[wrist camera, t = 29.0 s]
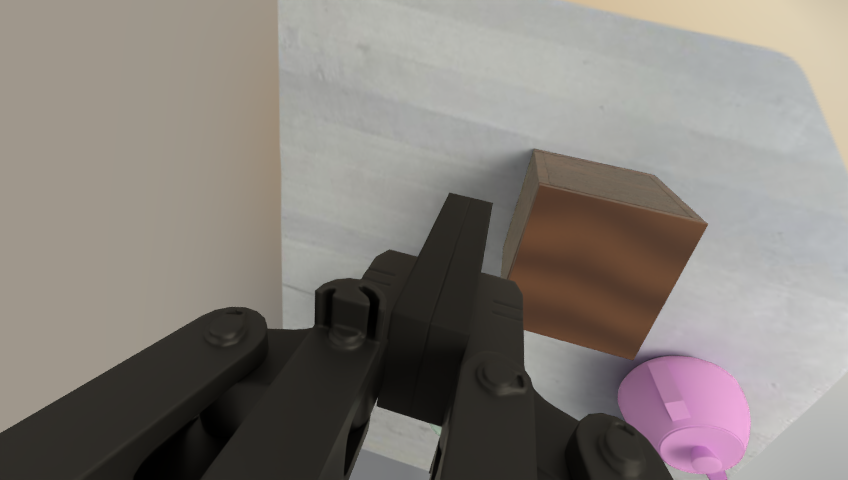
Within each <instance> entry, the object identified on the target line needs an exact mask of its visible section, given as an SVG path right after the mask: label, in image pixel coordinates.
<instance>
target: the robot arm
mask: <svg viewBox="0 0 848 480" xmlns="http://www.w3.org/2000/svg"><path fill="white" fill-rule="evenodd" d="M492 205H493V203H490V202H486V201H482V200H478V199H474V198H470V197H465V196H461V195H457V194H453V193H449V195H448V197H447V199H446V201H445V203H444V205H443V207H442V209H441V211H440V213H439V215H438V217H437V219H436V221H435V223H434V225H433V227H432V229H431V231H430V233H429V236H428V238H427V240H426V242H425V244H424V246H423V248H422V250H421V252H420V254H419V256H418V257H416V256H412V255H408V254H405V253H401V252H397V251H393V250H388V251H386V252H384V253H382V254H380V255H378V256H377V257H376V258H375V259H374V261H373V262H372V263H371V265H370V266H369V269H367V271H366V272H365V274H364V275H363V277H362V279H360V280H359V279H352V278H346V279H336V280H333V281H330V282H327V283H325V284H323V285H322V286H321V287H319V288H318V289H317V290H315V325H314V326H313V328H308V329H298V330H289V329H267V324H266V321H265V318H264V317H263V316H262V315H261V314H259V313H258V312H257V311H254V310H251V309H249V308H245V307H228V308H224V309H218V310H214V311H212V312H210V313H207V314H205V315H203V316H201V317H199V318H197V319H196V320H194V321H192V322H191V323H189V324H187V325H185V326H184V327H182V328H180V329H178V330H177V331H175V332H173V333H172V334H170V335H168V336H167V337H165V338H163V339H161V340H160V341H158V342H156V343H154V344H153V345H151V346H149V347H147V348H146V349H144V350H142V351H141V352H139V353H137V354H136V355H134V356H132V357H130V358H129V359H127V360H125V361H123V362H122V363H120V364H118V365H117V366H115V367H113V368H112V369H110V370H108V371H106V372H105V373H103V374H101V375H99V376H98V377H96V378H94V379H93V380H91V381H89V382H87V383H86V384H84V385H82V386H80V387H79V388H77V389H76V390H74V391H72V392H70V393H69V394H67V395H65V396H63V397H62V398H60V399H58V400H56V401H55V402H53V403H51V404H50V405H48V406H46V407H45V408H43V409H41V410H39V411H38V412H36V413H34V414H32V415H31V416H29V417H27V418H26V419H24V420H22V421H20V422H19V423H17V424H15V425H14V426H12V427H10V428H8V429H7V430H5V431H3V432H1V433H0V480H349V477H350V475H351V472H352V470H353V467H354V465H355V462H356V460H357V457H358V455H359V452H360V450H361V447H362V444H363V442H364V439H365V437H366V434H367V432H368V428H369V422H370V416H371V412H372V410H373V407H374V405H375V402H376V400H377V397H378V400H377V406H378V407H381V408H384V409H387V410H390V411H393V412H396V413H399V414H402V415H406V416H409V417H412V418H415V419H418V420H421V421H424V422H427V423H431V424H434V425H437V426H440V427H442V429H441V434H440V438H439V441H438V445H437V448H436V451H435V454H434V458H433V461H432V464H431V468H430V471H429V473H430V474H431V475H430V479H429V480H673V478H672V476H671V474H670V473H669V471H668V469H667V467H666V466H665V464H664V462H663V460H662V458H661V457H660V455H659V454H658V452H657V451H656V450H655V448H654V447H653V445H652V444H651V443H650V441H649V440H648V439H647V438H646V437H645V436H644V435H643V434H641V433H640V432H639V431H638V430H637V429H636V428H635V427H633V426H632V425H630V424H628V423H627V422H625V421H623V420H621V419H619V418H618V417H615V416H611V415H607V414H604V413H596V414H588V415H587V416H586V417H584V418H583V419H582V420H580V421H578V420H576V419H575V418H573V417H571V416H570V415H568V414H566V413H564V412H563V411H561V410H559V409H558V408H556V407H554V406H553V405H552V404H550V403H549V402H547V401H546V400H545V399H543V398H542V397H541V396H540V395H539V394H538V393H537V392H536V391H535V389H534V388H533V385H532V382H531V378H530V377H529V375H528V374H527V372H526V371H525V368H524V329H523V294H522V292H521V291H520V289H519V287H518V286H517V284H516V282H515V281H512V280H508V279H504V278H500V277H496V276H493V275H489V274H485V273H481V269H482V263H483V257H484V251H485V245H486V240H487V234H488V228H489V222H490V216H491V210H492Z"/></svg>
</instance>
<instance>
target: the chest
mask: <svg viewBox="0 0 848 480" xmlns="http://www.w3.org/2000/svg"><path fill="white" fill-rule="evenodd" d="M539 183H541V184H546V185H550V186H554V187H559V188H563V189H567V190H572V191H576V192H581V193H585V194H589V195H594V196H598V197H602V198H607V199H611V200H615V201H620V202H624V203H628V204H633V205H637V206H641V207H646V208H650V209H654V210H659V211H663V212H667V213H672V214H676V215H680V216H685V217H689V218H693V219H698V220H702V221H704V220H703V219H702V218H701V217H700V216H699V215H697V214H696V213H695V212H694V211H693V210H692V209H691V208H690V207H689V206H688V205H687V204H686V203H684V202H683V201H682V200H681V199H680V198H679V197H678V196H677V195H676V194H675V193H674V192H672V191H671V190H670V189H669V188H668V187H667V186H666V185H665V184H664V183H663V182H662V181H660V180H659V179H658V178H657V177H656V176H655V175H652V174H647V173H643V172H638V171H634V170H629V169H624V168H620V167H615V166H611V165H606V164H602V163H597V162H592V161H588V160H583V159H579V158H574V157H570V156H565V155H561V154H556V153H551V152H547V151H542V150H538V149H534V151H533V154H532V157H531V160H530V163H529V166H528V170H527V173H526V176H525V179H524V182H523V186H522V189H521V192H520V195H519V198H518V202H517V205H516V208H515V211H514V214H513V217H512V221H511V224H510V227H509V230H508V233H507V237H506V240H505V243H504V246H503V256H502V268H501V278H504V279H508V278H509V275H510V272H511V269H512V265H513V262H514V259H515V256H516V253H517V250H518V247H519V244H520V241H521V238H522V235H523V231H524V228H525V225H526V222H527V219H528V216H529V213H530V210H531V207H532V204H533V201H534V197H535V194H536V191H537V188H538V185H539Z"/></svg>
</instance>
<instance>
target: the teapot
mask: <svg viewBox="0 0 848 480" xmlns="http://www.w3.org/2000/svg"><path fill="white" fill-rule="evenodd" d="M618 404H619V407H620V410H621V413H622V415H623V417H624V419H625V421H626V422H627V423H628V424H630V425H632V426H633V427H635V428H636V429H637V430H638V431H639V432H640V433H641V434H643V435H644V436H645V437H646V438H647V439H648V440H649V441H650V443H651V444H652V445H653V447H654V448H655V450H656V451H657V452H658V454H659V455H660V457H661V458H662V460H663V461H664V462H666V463H667V464H669V465H670V466H672V467H674V468H676V469H679V470H681V471H685V472H689V473H696V474H706V475H707V477H708V478H709V479H710V480H727V477H726V473H725V470H727V469H730V468H732V467H733V466H735V465H736V464H737V463H739V462H740V460H741V459H742V458H743V456H744V454H745V451H746V448H747V444H748V440H749V435H750V425H751V420H750V411H749V407H748V403H747V400H746V398H745V395H744V393H743V391H742V389H741V387H740V385H739V384H738V382H737V381H736V380H735V378H734V377H733V376H732V375H730V374H729V373H728V372H727V371H725V370H724V369H722V368H721V367H719V366H717V365H715V364H713V363H710V362H707V361H704V360H701V359H697V358H692V357H685V356H664V357H659V358H654V359H651V360H648V361H646V362H644V363H642V364H640V365H638V366H637V367H636V368H634V369H633V370H632V371H631V372H630V373H629V374H628V375H627V376H626V377H625V378H624V380H623V381H622V383H621V385H620V387H619V390H618Z"/></svg>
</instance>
